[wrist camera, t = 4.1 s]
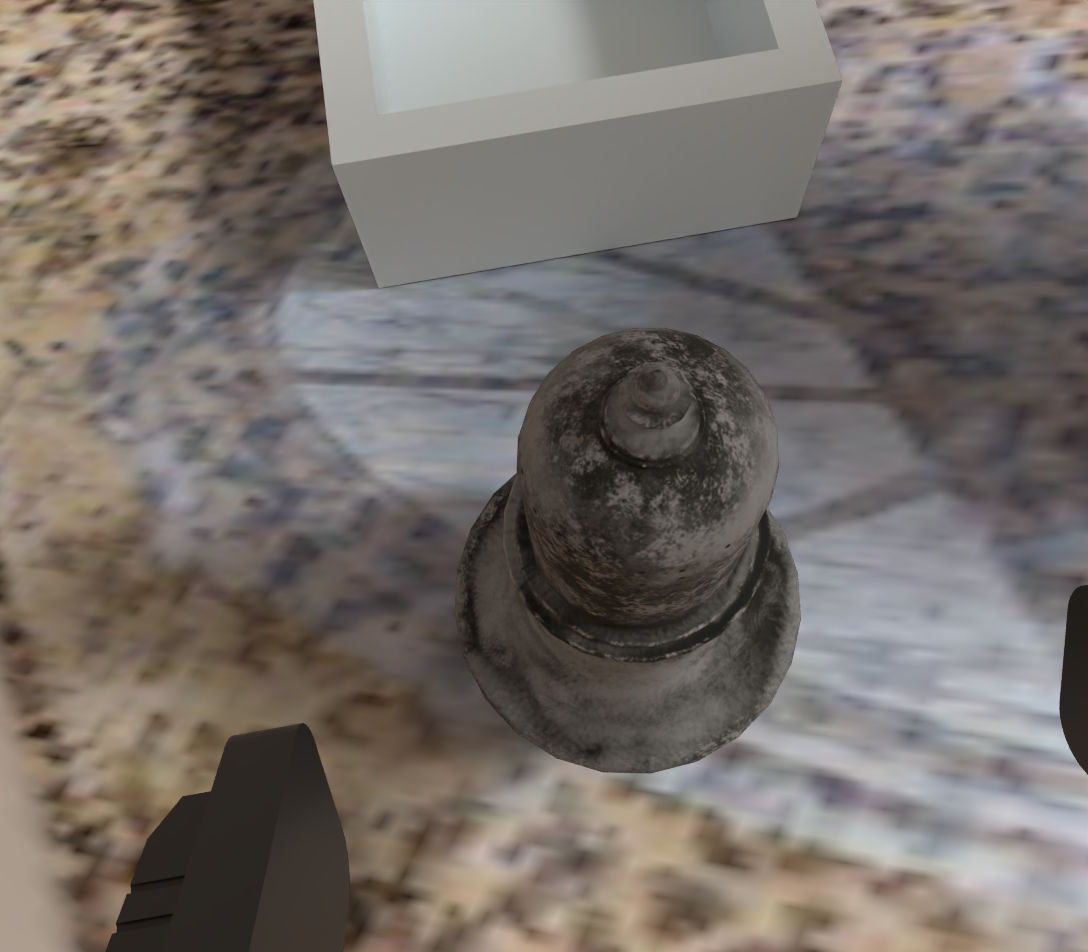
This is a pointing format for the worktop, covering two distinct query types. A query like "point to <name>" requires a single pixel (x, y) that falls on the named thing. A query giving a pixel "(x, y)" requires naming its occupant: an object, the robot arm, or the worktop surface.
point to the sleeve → (566, 123)
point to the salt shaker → (634, 559)
